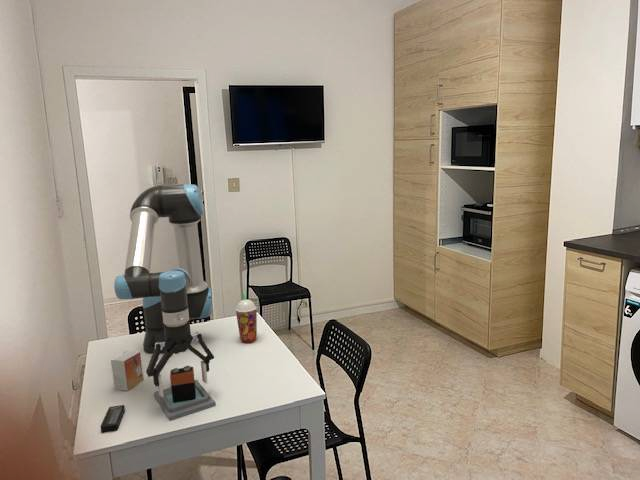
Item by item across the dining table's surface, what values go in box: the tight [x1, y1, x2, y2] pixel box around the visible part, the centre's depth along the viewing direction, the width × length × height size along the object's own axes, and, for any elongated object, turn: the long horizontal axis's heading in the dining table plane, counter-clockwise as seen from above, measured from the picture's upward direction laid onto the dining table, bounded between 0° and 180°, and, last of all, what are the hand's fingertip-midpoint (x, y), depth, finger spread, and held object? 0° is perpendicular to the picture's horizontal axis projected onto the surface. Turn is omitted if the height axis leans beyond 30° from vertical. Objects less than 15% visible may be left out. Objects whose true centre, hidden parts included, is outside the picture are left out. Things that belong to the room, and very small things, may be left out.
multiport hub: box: [100, 404, 126, 434], centre depth 139 cm, size 4×11×2 cm, turn 11°
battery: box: [169, 365, 196, 402], centre depth 147 cm, size 4×7×10 cm, turn 104°
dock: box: [153, 379, 217, 422], centre depth 149 cm, size 18×14×2 cm
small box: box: [110, 349, 144, 392], centre depth 160 cm, size 8×6×10 cm
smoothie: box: [235, 292, 258, 344], centre depth 193 cm, size 8×8×20 cm
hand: (183, 388), depth 147 cm, fingers open, 13 cm apart
